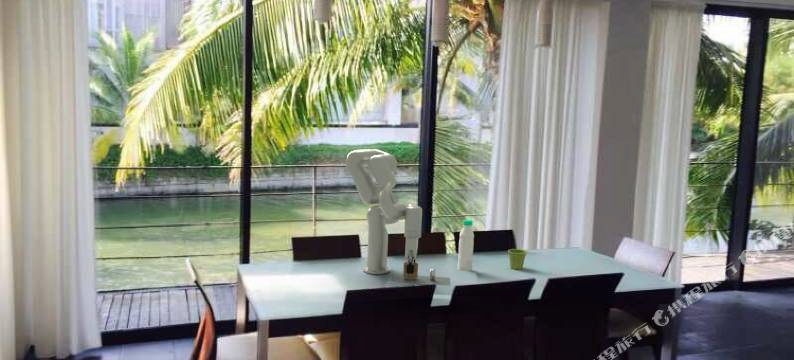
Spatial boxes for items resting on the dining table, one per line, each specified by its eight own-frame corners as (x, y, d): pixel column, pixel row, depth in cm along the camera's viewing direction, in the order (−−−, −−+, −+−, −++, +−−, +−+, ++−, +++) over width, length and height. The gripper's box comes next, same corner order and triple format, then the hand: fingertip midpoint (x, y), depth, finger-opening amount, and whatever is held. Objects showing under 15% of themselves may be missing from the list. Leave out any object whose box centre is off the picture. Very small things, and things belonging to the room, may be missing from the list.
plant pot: (517, 271, 328) (518, 254, 326) (502, 267, 335) (504, 250, 334) (529, 269, 334) (530, 252, 332) (515, 264, 341) (516, 248, 340)
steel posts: (405, 276, 304) (405, 262, 303) (435, 278, 303) (436, 264, 302) (404, 279, 299) (404, 265, 298) (434, 281, 298) (435, 267, 297)
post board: (393, 277, 308) (393, 273, 308) (450, 280, 306) (450, 277, 306) (391, 284, 296) (391, 281, 296) (449, 288, 294) (450, 285, 294)
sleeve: (403, 274, 305) (404, 261, 304) (417, 275, 304) (418, 262, 303) (402, 277, 298) (403, 264, 298) (417, 278, 298) (417, 265, 297)
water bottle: (474, 270, 327) (477, 220, 323) (468, 273, 321) (471, 222, 317) (461, 267, 330) (464, 218, 327) (454, 270, 324) (457, 220, 321)
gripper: (405, 228, 307) (403, 265, 310) (402, 237, 290) (401, 275, 293) (421, 230, 307) (420, 266, 309) (420, 238, 290) (418, 276, 292)
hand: (410, 270), depth 301 cm, fingers open, 9 cm apart
